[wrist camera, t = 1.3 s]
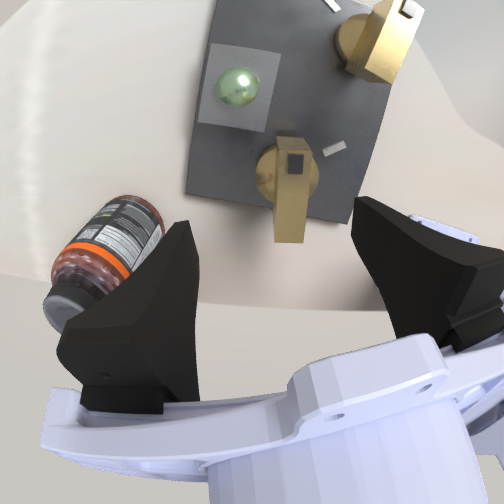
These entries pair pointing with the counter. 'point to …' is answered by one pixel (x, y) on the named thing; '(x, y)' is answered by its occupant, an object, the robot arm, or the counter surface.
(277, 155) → the knob
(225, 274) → the counter surface
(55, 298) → the supplement bottle
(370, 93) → the instrument base
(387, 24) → the knob
